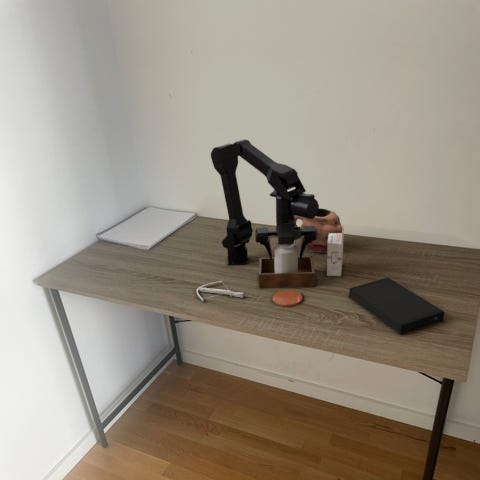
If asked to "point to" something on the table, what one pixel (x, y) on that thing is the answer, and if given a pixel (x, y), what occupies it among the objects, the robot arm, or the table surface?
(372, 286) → the external hard drive
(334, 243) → the ink cartridge box
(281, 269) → the can
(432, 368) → the table surface
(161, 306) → the table surface
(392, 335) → the table surface
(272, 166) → the robot arm
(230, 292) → the crossbow
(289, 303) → the coaster
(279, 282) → the wooden tray
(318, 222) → the decorative planter
